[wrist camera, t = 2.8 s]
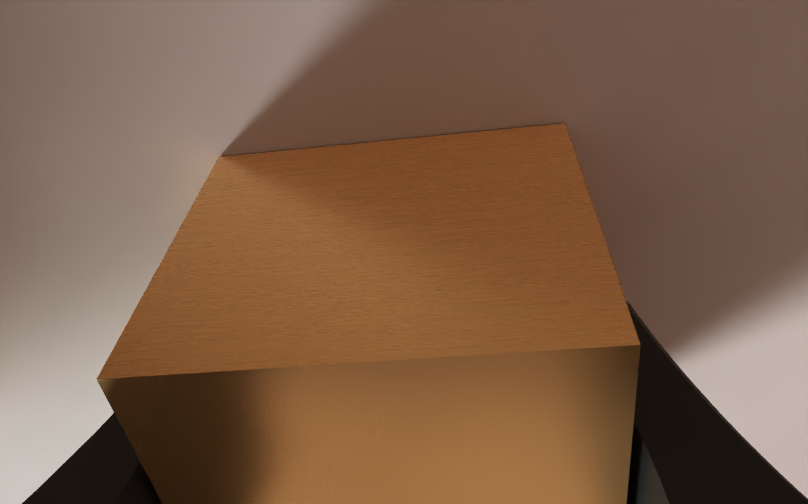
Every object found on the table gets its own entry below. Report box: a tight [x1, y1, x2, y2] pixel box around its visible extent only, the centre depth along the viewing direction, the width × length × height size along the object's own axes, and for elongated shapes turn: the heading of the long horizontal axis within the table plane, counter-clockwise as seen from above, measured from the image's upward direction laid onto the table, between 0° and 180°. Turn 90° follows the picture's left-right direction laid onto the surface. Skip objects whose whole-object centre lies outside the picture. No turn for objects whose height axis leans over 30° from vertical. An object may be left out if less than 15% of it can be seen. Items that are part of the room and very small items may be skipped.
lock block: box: [97, 123, 640, 504], centre depth 10 cm, size 6×5×4 cm
